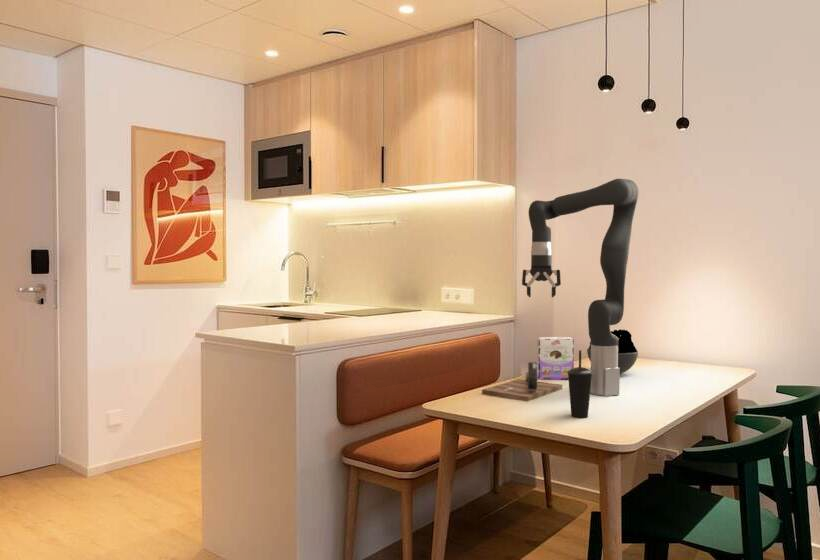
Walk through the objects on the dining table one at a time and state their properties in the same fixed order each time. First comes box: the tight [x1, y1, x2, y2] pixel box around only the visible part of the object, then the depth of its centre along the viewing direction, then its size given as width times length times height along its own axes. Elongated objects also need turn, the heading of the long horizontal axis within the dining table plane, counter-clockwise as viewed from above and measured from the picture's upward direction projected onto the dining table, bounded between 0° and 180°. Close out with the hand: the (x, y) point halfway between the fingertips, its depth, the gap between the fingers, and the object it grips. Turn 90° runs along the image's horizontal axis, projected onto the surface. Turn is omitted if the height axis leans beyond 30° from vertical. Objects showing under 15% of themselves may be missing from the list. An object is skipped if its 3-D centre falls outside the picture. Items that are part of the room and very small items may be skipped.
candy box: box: [536, 336, 575, 381], centre depth 254 cm, size 14×6×16 cm, turn 84°
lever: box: [525, 361, 538, 392], centre depth 230 cm, size 22×4×10 cm, turn 171°
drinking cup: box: [567, 350, 593, 419], centre depth 194 cm, size 8×8×20 cm
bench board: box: [481, 378, 563, 402], centre depth 230 cm, size 26×18×2 cm
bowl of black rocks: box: [586, 328, 639, 375], centre depth 263 cm, size 20×20×19 cm
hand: (541, 297), depth 242 cm, fingers open, 8 cm apart
